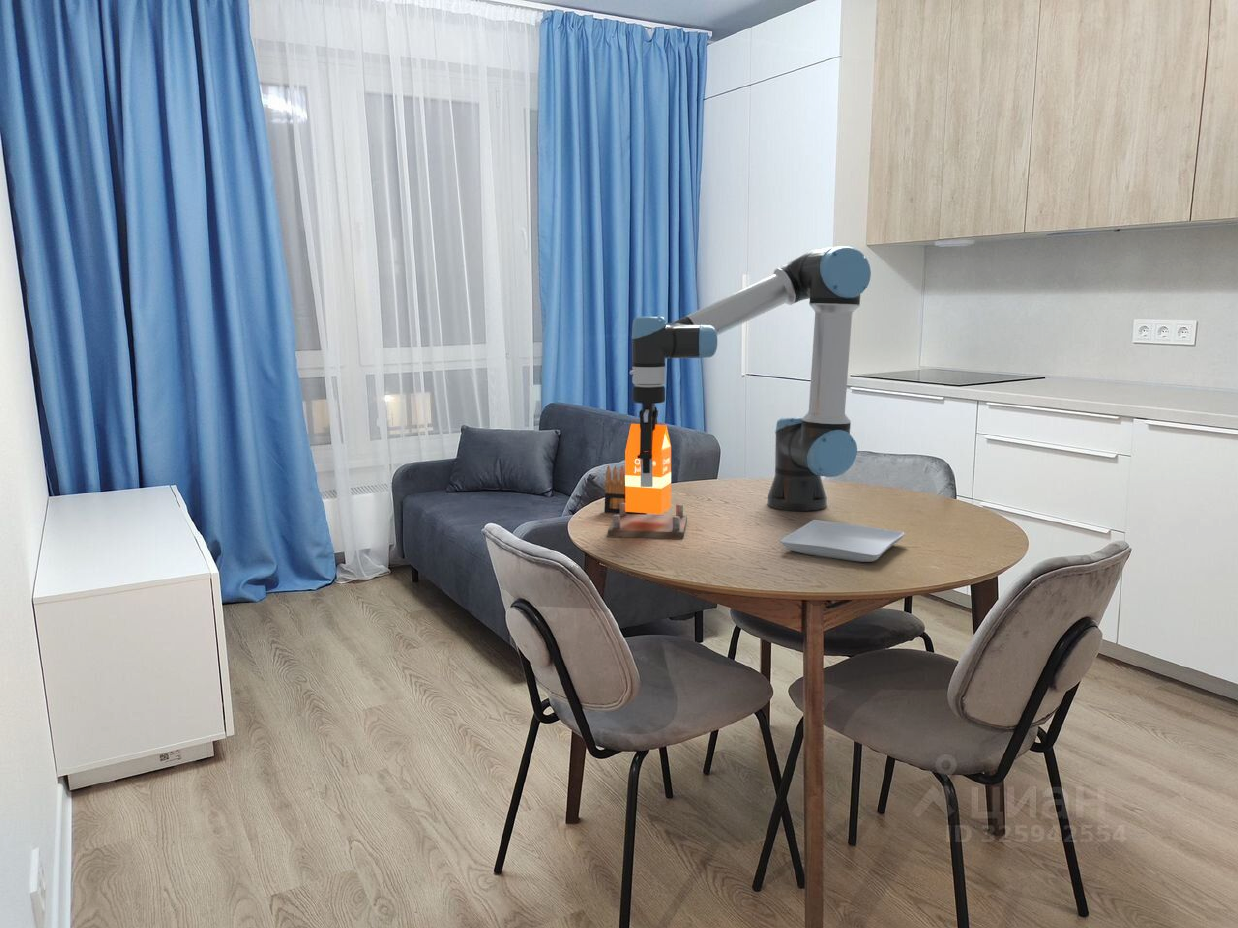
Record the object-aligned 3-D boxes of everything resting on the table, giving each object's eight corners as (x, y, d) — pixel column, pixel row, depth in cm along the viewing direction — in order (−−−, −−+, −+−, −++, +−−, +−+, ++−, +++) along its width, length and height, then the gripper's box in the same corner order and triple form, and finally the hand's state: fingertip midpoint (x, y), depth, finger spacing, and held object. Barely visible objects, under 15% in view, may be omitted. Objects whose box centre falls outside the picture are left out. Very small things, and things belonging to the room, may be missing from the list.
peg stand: (686, 521, 219) (687, 503, 218) (683, 538, 204) (683, 518, 203) (617, 519, 221) (616, 501, 221) (608, 536, 206) (607, 517, 205)
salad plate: (877, 570, 180) (878, 553, 180) (777, 555, 191) (777, 539, 191) (906, 545, 198) (907, 530, 197) (812, 533, 209) (813, 518, 208)
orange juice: (661, 514, 207) (661, 427, 203) (624, 511, 210) (624, 425, 206) (671, 507, 214) (671, 423, 210) (635, 504, 217) (635, 421, 213)
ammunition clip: (646, 513, 228) (646, 466, 226) (644, 515, 226) (644, 468, 224) (606, 511, 231) (606, 464, 229) (604, 512, 230) (603, 465, 227)
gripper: (637, 381, 218) (637, 473, 222) (626, 389, 197) (627, 491, 201) (668, 381, 217) (668, 474, 221) (661, 389, 196) (661, 492, 200)
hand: (648, 482), depth 211 cm, fingers closed on orange juice, 9 cm apart
